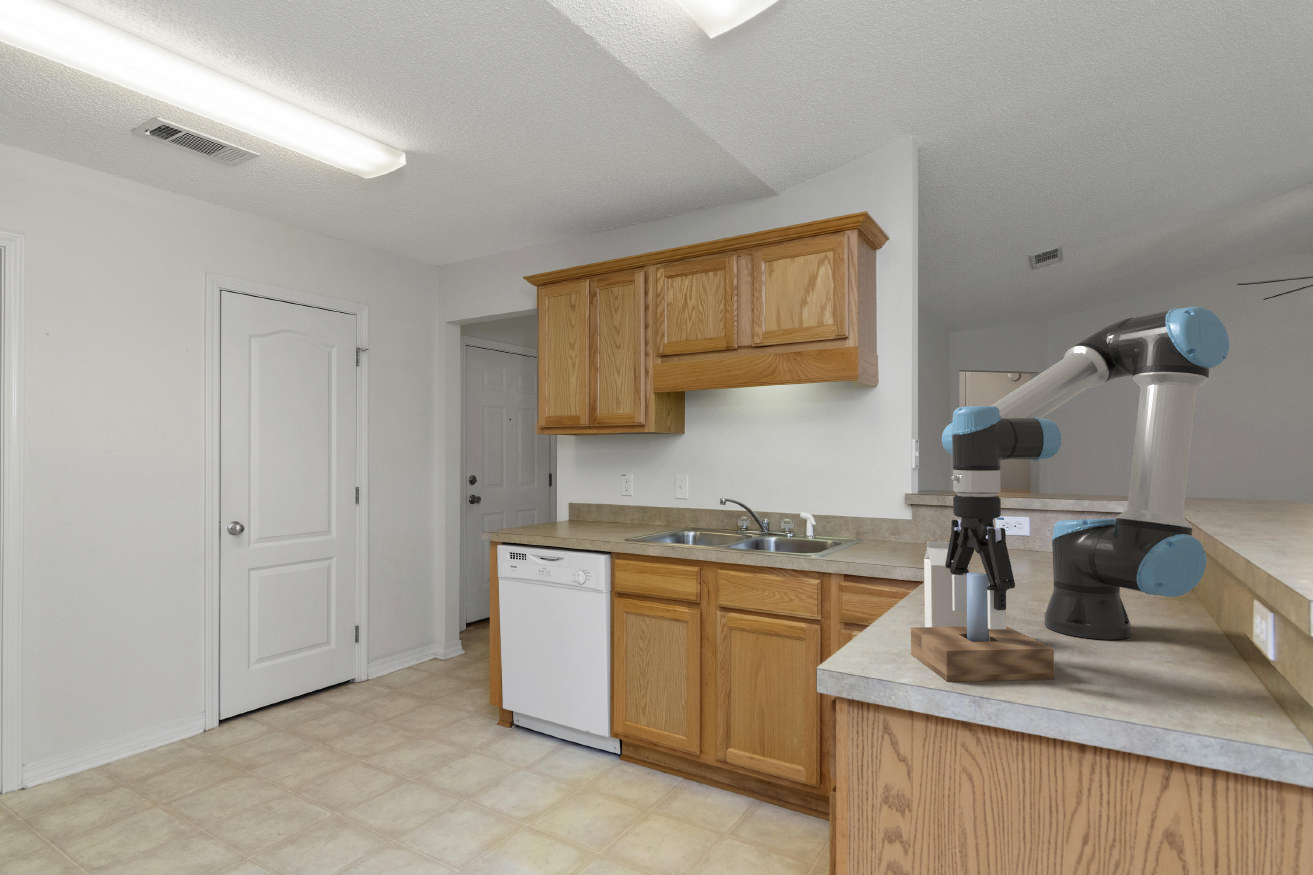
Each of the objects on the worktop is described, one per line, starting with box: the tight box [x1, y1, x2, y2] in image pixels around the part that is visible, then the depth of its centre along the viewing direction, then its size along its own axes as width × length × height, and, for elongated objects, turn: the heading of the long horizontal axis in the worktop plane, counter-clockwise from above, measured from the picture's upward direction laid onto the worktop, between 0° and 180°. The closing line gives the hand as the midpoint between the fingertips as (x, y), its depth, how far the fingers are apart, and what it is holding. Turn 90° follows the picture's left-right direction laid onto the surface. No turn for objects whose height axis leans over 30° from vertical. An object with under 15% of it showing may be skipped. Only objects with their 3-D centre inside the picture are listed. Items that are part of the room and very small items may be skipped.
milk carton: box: [923, 541, 970, 627], centre depth 135 cm, size 7×7×19 cm
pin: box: [967, 571, 990, 642], centre depth 117 cm, size 4×4×15 cm
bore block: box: [910, 625, 1055, 682], centre depth 117 cm, size 18×14×5 cm
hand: (978, 619), depth 117 cm, fingers open, 11 cm apart
